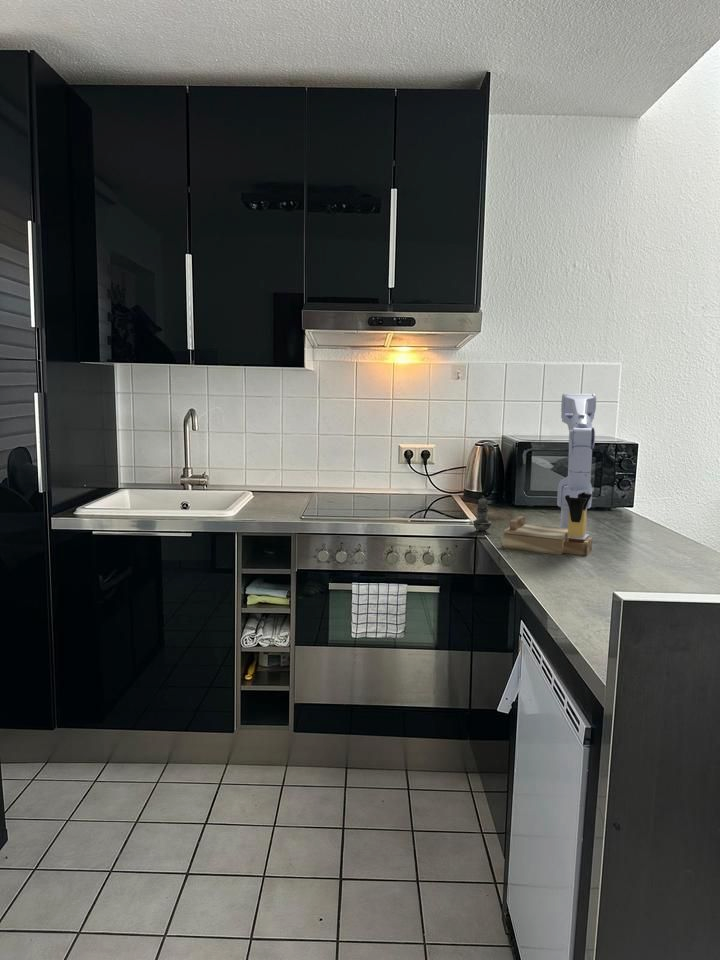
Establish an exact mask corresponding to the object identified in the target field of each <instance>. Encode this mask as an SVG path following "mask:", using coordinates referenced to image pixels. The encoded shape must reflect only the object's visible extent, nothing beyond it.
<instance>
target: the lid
mask: <svg viewBox="0 0 720 960" xmlns="http://www.w3.org/2000/svg"><path fill="white" fill-rule="evenodd" d="M525 522H526V516H522V515H519V516H517V517H515V518H513V519H511V520H509V527H507V528H506V529H504V530H503V534H504V533H506V534H515V535H524V536H533V537H543V538H552V539H561V540H562V539H563V538H564V537H566V536H567V535H568V528H560V527H558V526H547V525H538V524H537V525H536V524H529V523H525Z"/></svg>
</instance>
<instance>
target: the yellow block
mask: <svg viewBox="0 0 720 960" xmlns="http://www.w3.org/2000/svg"><path fill="white" fill-rule="evenodd" d="M587 512H588V509H587V510H583V511H582V516H581V520H580V522H572V521H571V516H570V510H569V519H568V536H576V537H583V536H585V533H586V532H587V519H586V516H587V517H588V515H587ZM586 534H587V533H586Z"/></svg>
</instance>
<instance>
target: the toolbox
mask: <svg viewBox="0 0 720 960" xmlns="http://www.w3.org/2000/svg"><path fill="white" fill-rule="evenodd" d="M502 539H503V540H502V541H503V542H502V548H503V549H511V550H518V551H526V552H527V551H528V552H533V553H535V552H536V553H541V554H543V553H544V554H551V555H559V556H561V555H562V554H571V555H572V554H573V555H579V556H588V555H589V554H590V553H591V552H592V551H591V550H592V549H593V537H590V536H588V537H587V538H586V539H579V538H571V536H568V535H567V536H566V537H564V538H563V539H562V540H561V539H552V538H543V537H533V536H524V535H515V534H506V533H504V532H503V538H502Z"/></svg>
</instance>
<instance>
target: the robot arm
mask: <svg viewBox="0 0 720 960" xmlns="http://www.w3.org/2000/svg"><path fill="white" fill-rule="evenodd" d="M560 407H561V409H560V410H561V411H560V412H561V416H560V417H561V421H562V423H564V424H566V425H567V428H568V432H569V433H568V458H567V459H568V460H567V461H568V463H567V464H568V465H567V466H568V467H567V476H566V477H564V478H562V479H561V480H560V481H559V482H558V485H557V496H556V497H557V498H556V502H557V503H556V504H557V506H558V507H559V508H560V510H561V511H560V525H559V526H560V527H559V528H568V519H569V510H570V516H571V521H572V522H580V520H581V516H582V511H583V510H587V511H588V509H590V508H591V507H592V503H593V489H592V488H593V487H592V483H591V480H592V478H591V477H592V462H593V461H592V459H593V458H592V457H593V449H594V448H595V441H596V430H595V427H593V426H592V425H593V424H592V423H593V420H594V419H595V413H596V407H597V394H595V392H594V393H566V392H564V393H563V394H562V395H561V406H560ZM587 519H588V515H587V516H586V520H587ZM588 537H590V534H589V533H585V536H583V537H576V536H571V538H579V539H587V538H588Z"/></svg>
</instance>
